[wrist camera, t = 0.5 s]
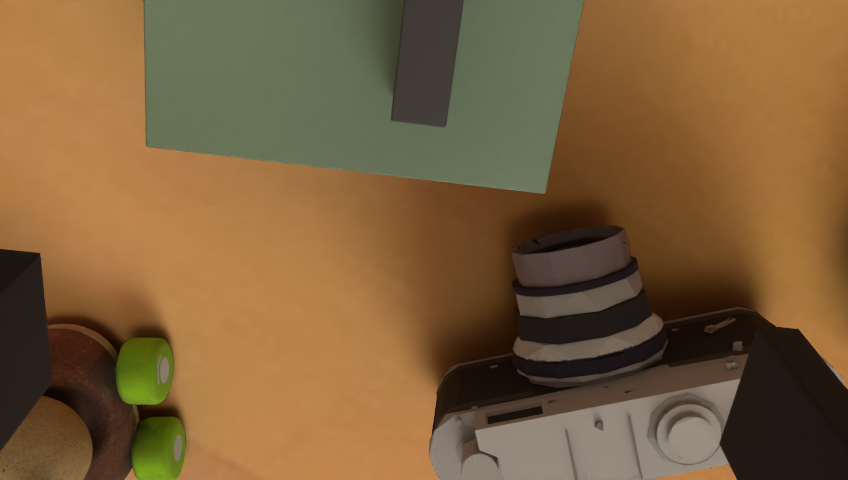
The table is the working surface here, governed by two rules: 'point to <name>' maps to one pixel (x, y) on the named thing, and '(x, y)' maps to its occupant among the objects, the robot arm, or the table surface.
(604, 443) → the camera
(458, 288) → the table surface
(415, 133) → the sliding lid
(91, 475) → the toy car
